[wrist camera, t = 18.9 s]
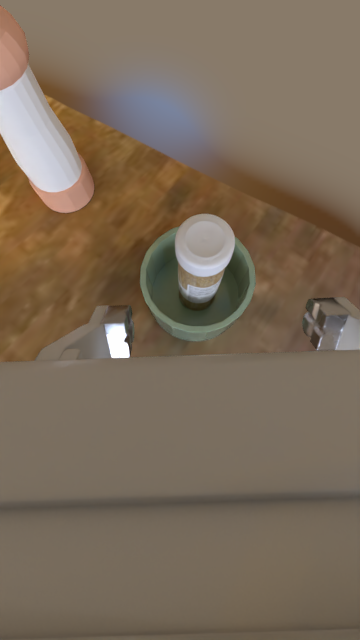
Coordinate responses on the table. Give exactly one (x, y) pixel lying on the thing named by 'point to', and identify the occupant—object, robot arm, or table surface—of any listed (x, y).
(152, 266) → the cup
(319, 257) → the table surface
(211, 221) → the sprinkles bottle
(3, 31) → the salt shaker
